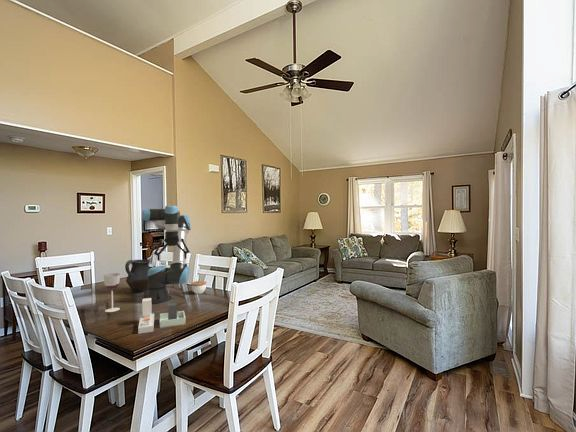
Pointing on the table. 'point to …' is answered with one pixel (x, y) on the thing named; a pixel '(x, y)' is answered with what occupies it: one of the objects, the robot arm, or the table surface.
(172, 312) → the black charger
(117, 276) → the wineglass
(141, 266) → the pitcher
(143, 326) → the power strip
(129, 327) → the table surface
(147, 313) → the white charger
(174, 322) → the tray
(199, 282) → the white round bowl
